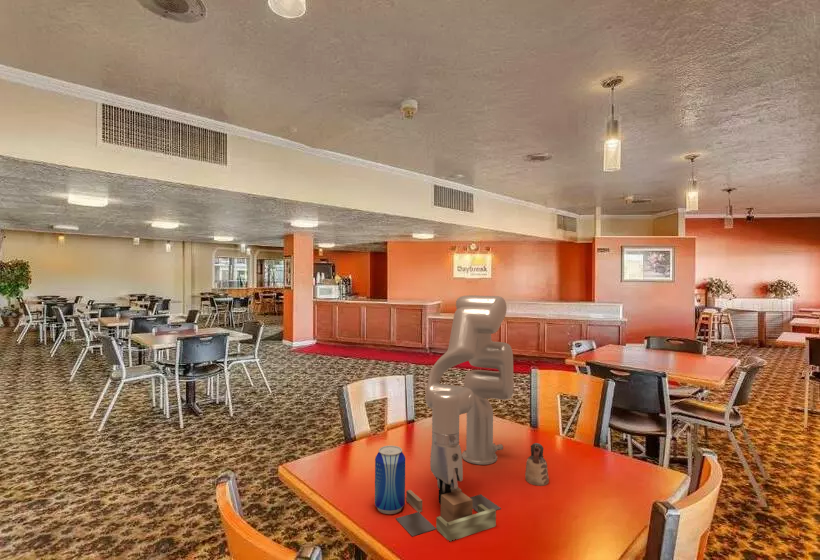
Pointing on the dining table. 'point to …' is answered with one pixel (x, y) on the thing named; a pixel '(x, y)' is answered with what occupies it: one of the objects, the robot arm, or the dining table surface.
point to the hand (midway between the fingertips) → (444, 503)
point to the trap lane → (453, 529)
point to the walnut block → (455, 506)
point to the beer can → (390, 480)
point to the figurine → (536, 467)
